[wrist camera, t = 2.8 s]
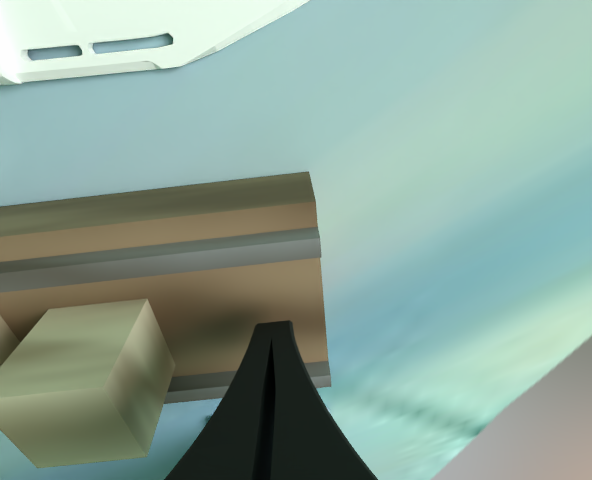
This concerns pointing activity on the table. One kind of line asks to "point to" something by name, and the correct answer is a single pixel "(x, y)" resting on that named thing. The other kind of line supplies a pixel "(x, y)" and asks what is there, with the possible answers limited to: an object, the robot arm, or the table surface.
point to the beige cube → (86, 384)
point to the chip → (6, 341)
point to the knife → (123, 33)
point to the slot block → (178, 269)
